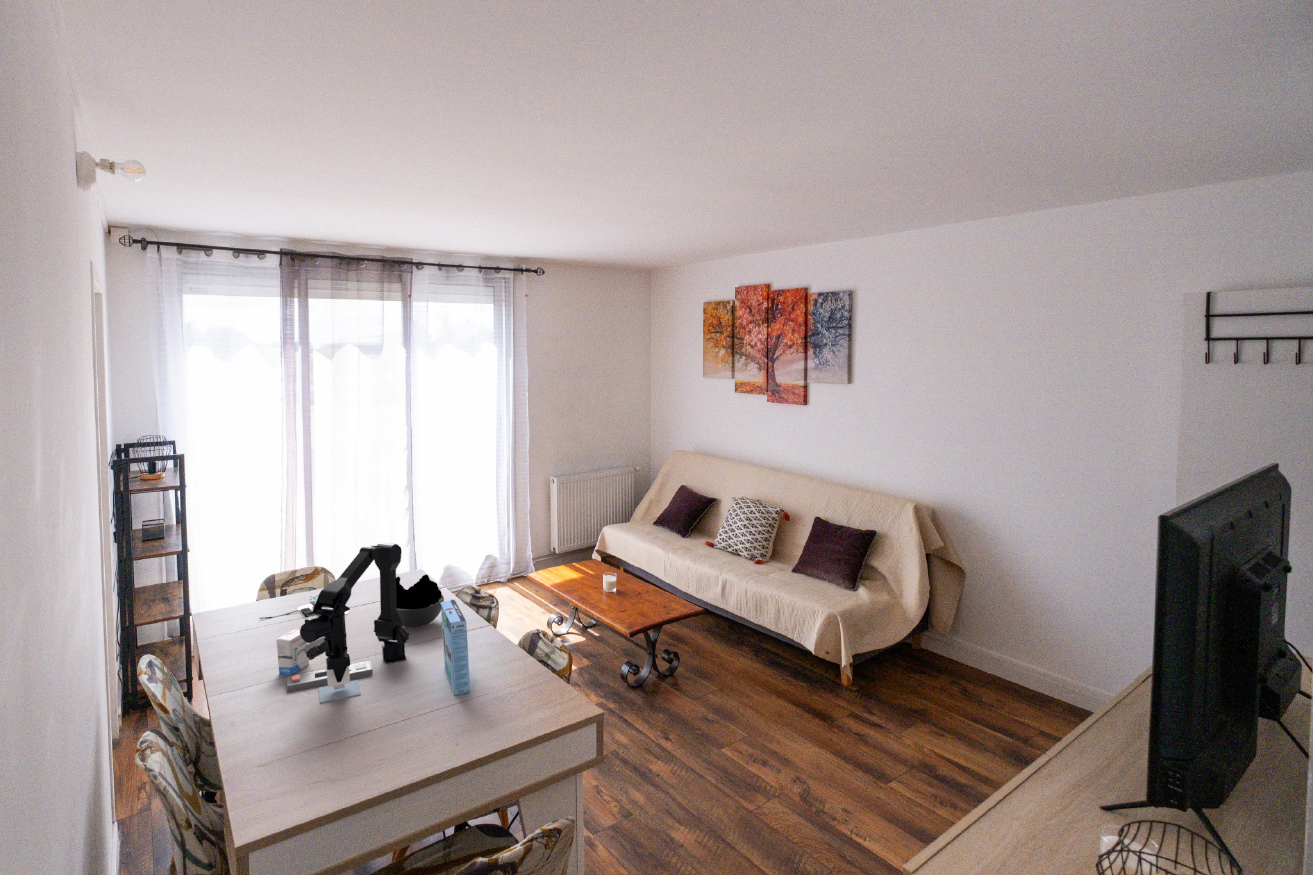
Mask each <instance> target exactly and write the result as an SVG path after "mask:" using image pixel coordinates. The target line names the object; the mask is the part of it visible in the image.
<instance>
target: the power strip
mask: <svg viewBox="0 0 1313 875" xmlns="http://www.w3.org/2000/svg"><path fill="white" fill-rule="evenodd" d="M349 675H350V680H353V679H358V678H361V677H362V678H363V677H367V676H372V675H373V668H372V663H371V661H370V660H366V661H360V662H355V663H350V666H349ZM323 685H324V686H325V685H328V682H327V669H326V668H325V669H319V670H314V671H309V672H304V673H298V674H293V675H287V677H286V689H287V693H290V692H294V691H298V690H299V691H300V690H304V689H309V688H314V687H318V686H323Z"/></svg>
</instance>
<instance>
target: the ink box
mask: <svg viewBox="0 0 1313 875" xmlns="http://www.w3.org/2000/svg"><path fill="white" fill-rule="evenodd" d="M308 644H309V643H307V642H305V641H304V640H303V639H302V637H301V635H300V629H292V630H291V631H289V632H287V633H285V634H283V635H281V636H280V637H277V639H276V650H277V662H278V664H277V665H278V674H279V675H285V676H293V675H296V673H298V672H299V671H301V670H303V669H304V668H305V667H307V666H308V665H309V664H310V660H309V658H308V657H307V655H306V653H305V649H304V647H305V646H306V645H308Z"/></svg>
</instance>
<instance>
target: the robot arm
mask: <svg viewBox="0 0 1313 875" xmlns="http://www.w3.org/2000/svg"><path fill="white" fill-rule="evenodd" d="M402 553H403V552H402V547H401V546H400V545H399V544H397V543H389V542H379V543H377V545H364V546H362V547H361V548H360V549H359V551H358V552H357V555H356V556H355V557H354V558H353V560H351V562H350V563H349V564H348V566H347V567H346V568H345V569H344V570H343V571H342V573H341V575H339V577H338V578H337V579H335V580H333V581H331V582H329V583H328V584H327V585H326V586H325V587H323V588H322V590H321V591H320V592H319V594H318V595H319V597H318V599H317V601H316V604H315V606H314V608H313V611H312V614H313V615H315V616H313V617H311V618H307V619H306V618H305V619H304V623H303V624H302V625H301V626H300V629H299V630H300V635H301V637H302V639H303V640H304V641H305V642H307V643H308V645H306V646H305V647H304V649H305V653H306V655H307V657H308V658H309V661H312V660H314V659H315V658H316V657H319V656H321V655H322V654H324V653H325V656H326V657H327V658H325V664H326V663H327V670H332V669H333V671H334V674H335V677H336V680H337V682H341V681H342V678H343V676H344V673H345V671H346V668H347V666H350V664H351V657H350V654H349V653H348V644H347V631H346V630H347V628H346V617H345V616H346V614H345V612H346V611H348V610H349V611H350V610H351V607H349V606H347V605H346V604H347V603H348V602H349V600H350V598H351V596H352V589H353V588H354V586H355V585H356V584H357V582H358V581H359V579H360V578H361V577H362V576H363V574H364V573H365V572H366V571H367V569H368V568H369V567H370V566H371V564H372V563H373V562H374V564H375V566H376V567H377V569H378V570H379V592H380V594H379V598H380V599H379V600H380V614H379V615H378V617H377V619H374V621H373V626H374V627H373V632H374V634H375V636H376V638H377V640H378V642H380V643H381V642H382V643H383V645H382V646H381V651H382V652H381V653H382V656H381V657H382V659H383V661H384V662H385V664H390V663H396V662H401V661H406V660H407V656H406V646H405V644H406V643H407V641H408V640H409V639H410V632H409V631H408V630H406V629H405V628H404V626H403V625H402V620H401V618H400V616H399V615H398V613H397V600H396V577H397V568H398V567H399V565H400V563H401V560H402ZM322 607H327V608H333V609H331V610H328V609H321V608H322Z"/></svg>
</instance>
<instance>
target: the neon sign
mask: <svg viewBox="0 0 1313 875" xmlns="http://www.w3.org/2000/svg"><path fill="white" fill-rule="evenodd" d="M318 597H319V594H316V595H315V594H314V595H311V596H309V597H308V599H309V604H304V605H301V606H298V607H297V609H296V610H294V611H291V612H287V613H284V614H279V615H275V616H266V617H264V616H263V617H259V620H261V619H262V620H263V619H272V618H278V617H282V616H287V615H290V614H294V613H296V612H300V614H301V615H302V617H304V618H305V619H307V618H311V617H313V616H315V615H313V614H312V611H313V608H314V606H315V604H316V601H317V599H318ZM321 609H328V610H331V609H333V608H327V607H322V608H321ZM349 613H350V610H348V611H346V612H345V615H348V614H349Z"/></svg>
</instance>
